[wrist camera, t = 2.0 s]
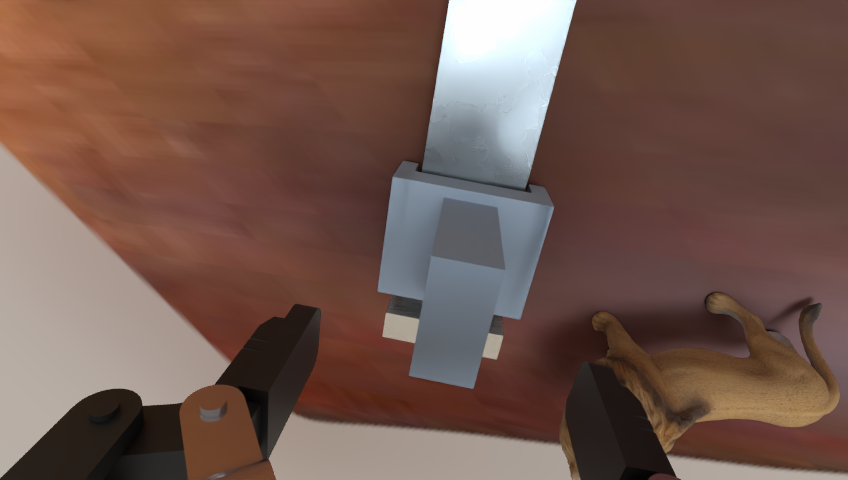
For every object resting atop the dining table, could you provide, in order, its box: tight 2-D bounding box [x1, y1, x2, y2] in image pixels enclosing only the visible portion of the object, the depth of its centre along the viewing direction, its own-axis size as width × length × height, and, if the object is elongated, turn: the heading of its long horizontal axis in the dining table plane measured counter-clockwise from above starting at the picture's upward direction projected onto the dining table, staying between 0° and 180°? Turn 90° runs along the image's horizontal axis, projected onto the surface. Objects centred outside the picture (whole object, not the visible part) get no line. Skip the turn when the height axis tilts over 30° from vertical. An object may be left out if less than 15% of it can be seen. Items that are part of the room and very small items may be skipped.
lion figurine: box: [559, 293, 840, 480], centre depth 21 cm, size 15×5×9 cm, turn 112°
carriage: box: [377, 161, 554, 389], centre depth 19 cm, size 7×6×9 cm
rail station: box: [382, 0, 576, 360], centre depth 16 cm, size 8×30×8 cm, turn 171°
